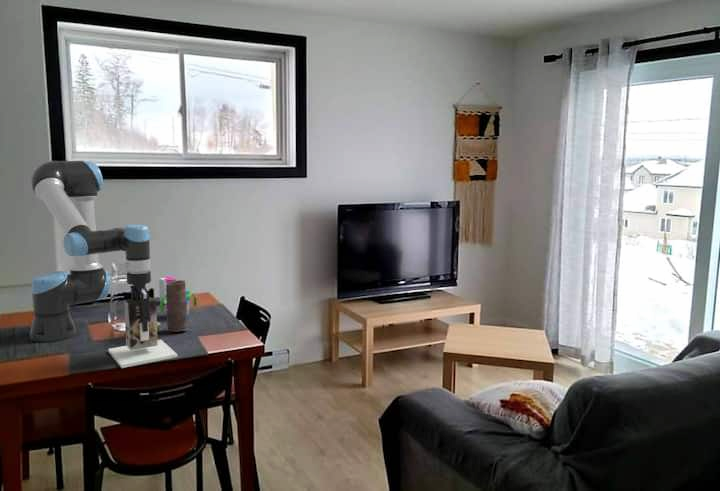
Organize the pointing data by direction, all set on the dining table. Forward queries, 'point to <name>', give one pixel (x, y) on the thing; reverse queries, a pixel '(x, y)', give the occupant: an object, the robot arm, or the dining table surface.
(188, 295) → the snack cup
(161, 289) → the supplement box
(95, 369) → the dining table surface
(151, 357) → the pad
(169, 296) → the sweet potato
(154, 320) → the coffee box
